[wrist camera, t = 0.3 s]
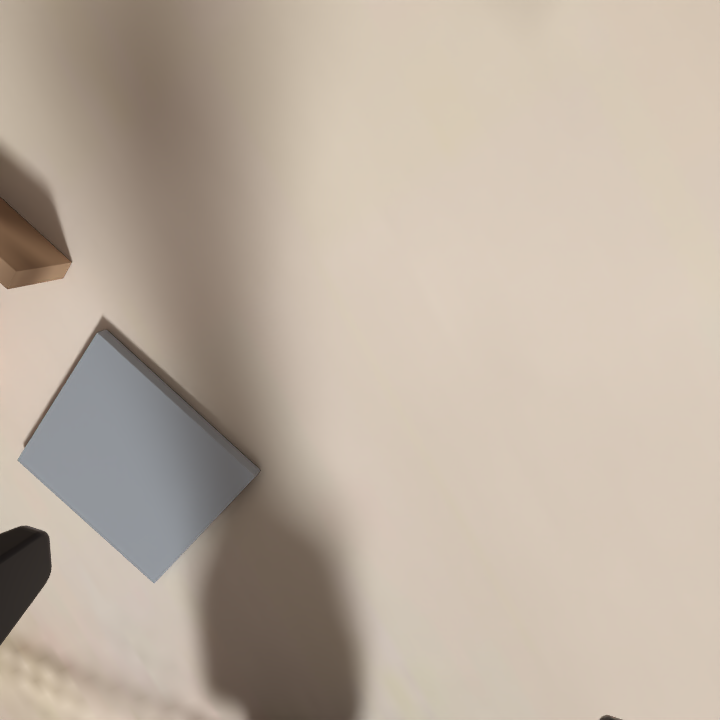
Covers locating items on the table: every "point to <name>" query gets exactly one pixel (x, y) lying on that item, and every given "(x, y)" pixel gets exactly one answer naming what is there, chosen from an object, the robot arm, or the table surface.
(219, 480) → the slate mat
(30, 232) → the walnut stall
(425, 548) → the table surface
